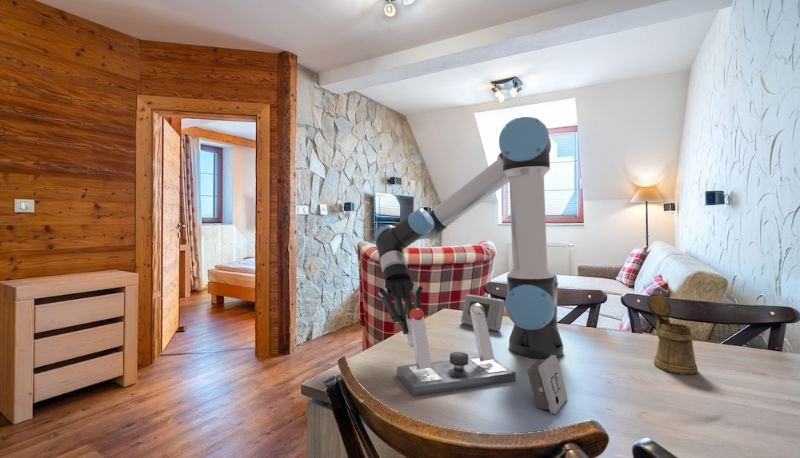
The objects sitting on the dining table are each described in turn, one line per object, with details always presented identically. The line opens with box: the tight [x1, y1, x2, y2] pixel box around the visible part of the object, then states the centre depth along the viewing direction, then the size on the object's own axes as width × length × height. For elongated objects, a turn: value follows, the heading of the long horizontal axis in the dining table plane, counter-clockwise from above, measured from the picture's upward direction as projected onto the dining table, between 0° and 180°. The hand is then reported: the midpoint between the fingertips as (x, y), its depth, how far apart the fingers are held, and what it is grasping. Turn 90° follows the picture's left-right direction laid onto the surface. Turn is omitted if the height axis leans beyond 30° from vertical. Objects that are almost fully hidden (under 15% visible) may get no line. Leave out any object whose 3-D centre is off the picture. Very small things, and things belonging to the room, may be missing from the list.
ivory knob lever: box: [470, 303, 495, 362], centre depth 96 cm, size 4×4×14 cm
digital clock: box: [460, 294, 505, 332], centre depth 135 cm, size 16×9×11 cm, turn 35°
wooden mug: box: [646, 292, 699, 375], centre depth 99 cm, size 9×14×18 cm, turn 0°
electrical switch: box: [526, 355, 568, 415], centre depth 78 cm, size 9×5×9 cm, turn 141°
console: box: [396, 356, 517, 397], centre depth 90 cm, size 26×12×4 cm, turn 108°
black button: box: [449, 351, 469, 366], centre depth 91 cm, size 4×4×2 cm
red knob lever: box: [409, 307, 432, 370], centre depth 91 cm, size 4×4×14 cm
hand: (413, 344), depth 94 cm, fingers closed
